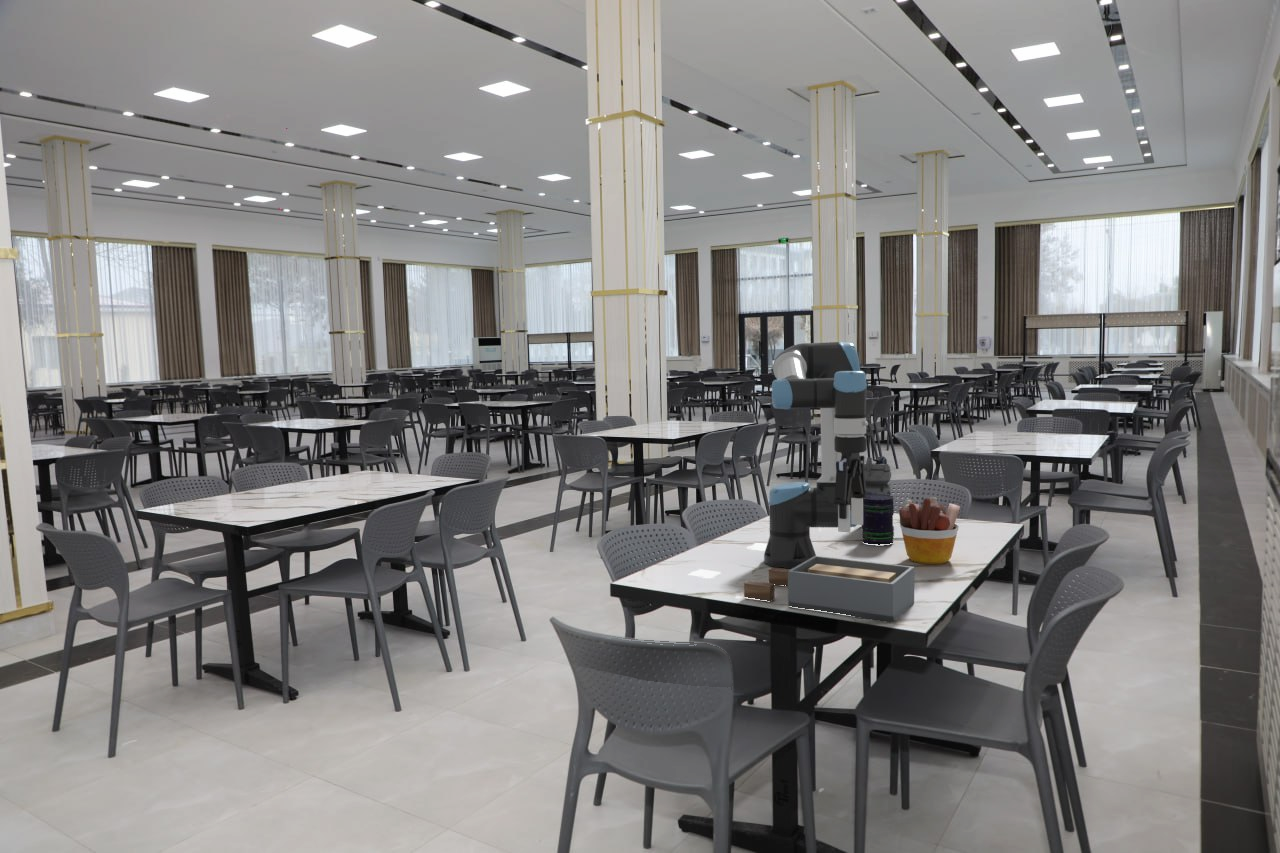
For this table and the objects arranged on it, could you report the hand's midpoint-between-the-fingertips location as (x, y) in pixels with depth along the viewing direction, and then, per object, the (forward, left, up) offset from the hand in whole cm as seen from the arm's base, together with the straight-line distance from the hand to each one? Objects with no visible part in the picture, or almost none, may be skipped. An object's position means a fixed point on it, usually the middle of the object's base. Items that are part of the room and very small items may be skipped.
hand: (850, 527), depth 209 cm
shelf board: (0, 0, -13) cm, 13 cm away
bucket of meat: (+5, +53, -19) cm, 57 cm away
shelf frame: (0, 0, -19) cm, 19 cm away
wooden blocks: (-22, +2, -19) cm, 29 cm away
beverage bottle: (-23, +93, -19) cm, 98 cm away
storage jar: (-15, +69, -19) cm, 73 cm away
